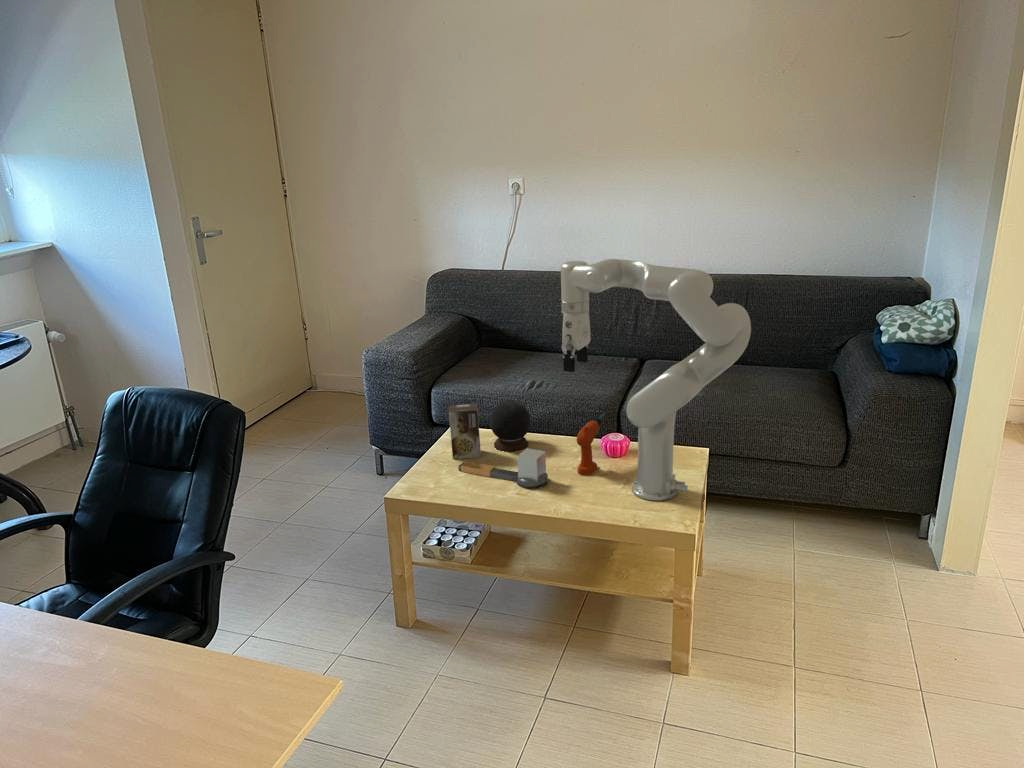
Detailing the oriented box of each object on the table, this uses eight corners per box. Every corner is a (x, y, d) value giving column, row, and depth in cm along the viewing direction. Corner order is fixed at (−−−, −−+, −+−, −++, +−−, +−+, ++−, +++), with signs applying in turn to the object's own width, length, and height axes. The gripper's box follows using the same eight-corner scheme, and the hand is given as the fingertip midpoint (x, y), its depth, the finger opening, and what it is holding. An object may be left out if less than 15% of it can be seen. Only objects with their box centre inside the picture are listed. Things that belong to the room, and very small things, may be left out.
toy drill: (613, 448, 228) (611, 406, 222) (589, 479, 214) (586, 434, 208) (599, 446, 231) (597, 403, 224) (574, 476, 216) (571, 432, 210)
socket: (545, 473, 212) (545, 451, 210) (537, 481, 207) (536, 459, 205) (527, 470, 215) (526, 448, 213) (518, 478, 210) (517, 456, 207)
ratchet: (552, 478, 213) (552, 459, 211) (539, 491, 206) (539, 471, 204) (468, 463, 226) (467, 445, 224) (453, 474, 218) (452, 456, 216)
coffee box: (480, 449, 236) (477, 402, 230) (480, 457, 229) (478, 409, 224) (452, 451, 235) (448, 404, 230) (451, 459, 229) (448, 411, 224)
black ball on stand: (524, 455, 230) (522, 410, 225) (485, 451, 234) (482, 407, 229) (536, 439, 242) (535, 397, 237) (499, 435, 246) (497, 394, 241)
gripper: (576, 314, 191) (576, 376, 196) (599, 301, 205) (599, 359, 211) (549, 312, 194) (551, 373, 199) (574, 299, 209) (575, 357, 214)
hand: (575, 366), depth 205 cm, fingers open, 9 cm apart
